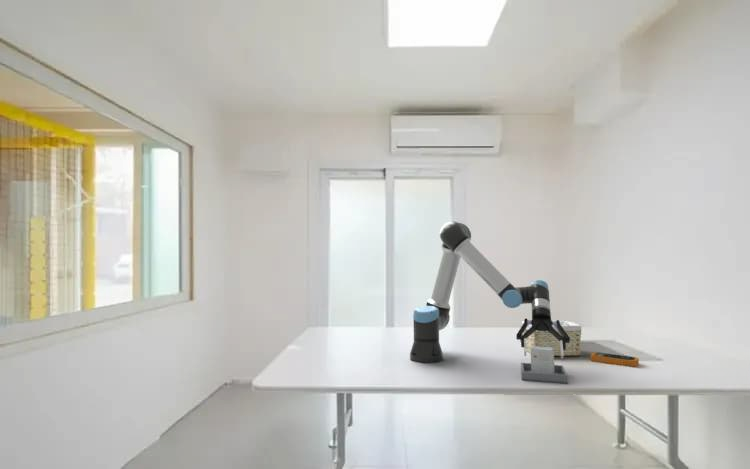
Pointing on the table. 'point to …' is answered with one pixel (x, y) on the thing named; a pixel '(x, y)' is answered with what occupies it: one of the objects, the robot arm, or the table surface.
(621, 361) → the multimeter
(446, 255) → the robot arm
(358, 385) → the table surface
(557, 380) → the tray
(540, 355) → the small box
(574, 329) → the storage basket
